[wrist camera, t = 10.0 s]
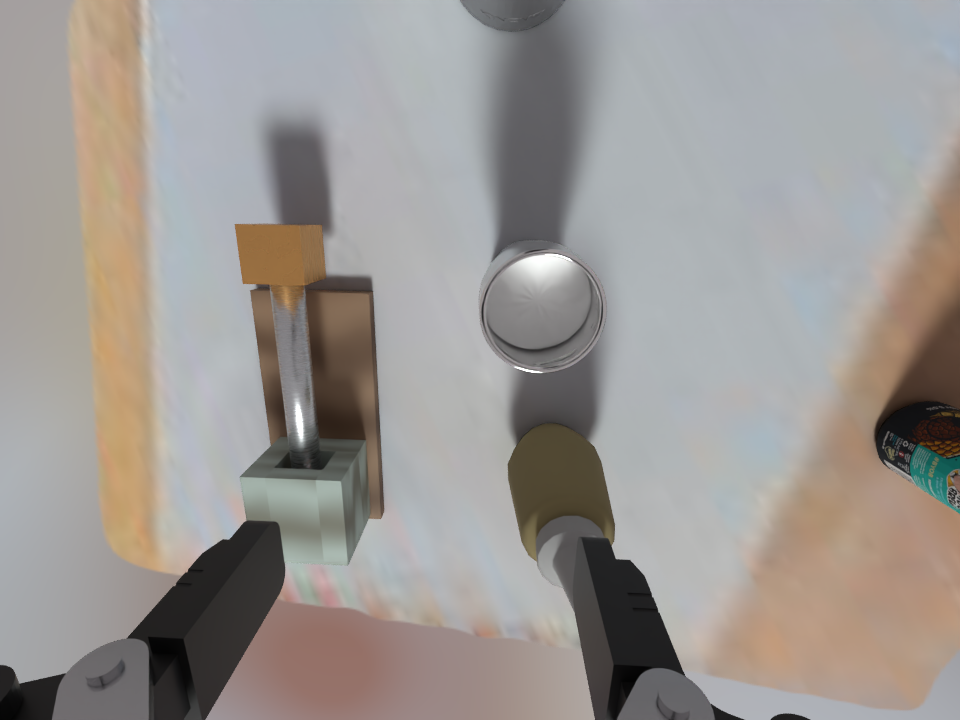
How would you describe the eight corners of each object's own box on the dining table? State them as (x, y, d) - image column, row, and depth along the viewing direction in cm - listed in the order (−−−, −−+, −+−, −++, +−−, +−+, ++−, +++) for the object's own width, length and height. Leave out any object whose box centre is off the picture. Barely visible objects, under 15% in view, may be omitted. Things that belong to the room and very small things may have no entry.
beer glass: (482, 237, 37) (470, 248, 22) (568, 231, 36) (612, 239, 22) (487, 320, 39) (480, 380, 24) (569, 316, 38) (610, 374, 24)
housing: (257, 288, 39) (198, 305, 31) (372, 291, 38) (341, 309, 31) (285, 507, 45) (242, 565, 38) (384, 511, 45) (360, 571, 37)
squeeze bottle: (497, 421, 41) (496, 562, 24) (585, 402, 41) (647, 536, 23) (517, 495, 44) (528, 672, 27) (600, 479, 43) (667, 652, 26)
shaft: (264, 223, 34) (234, 224, 30) (321, 224, 34) (299, 225, 30) (294, 477, 41) (273, 504, 37) (342, 479, 41) (326, 506, 37)
